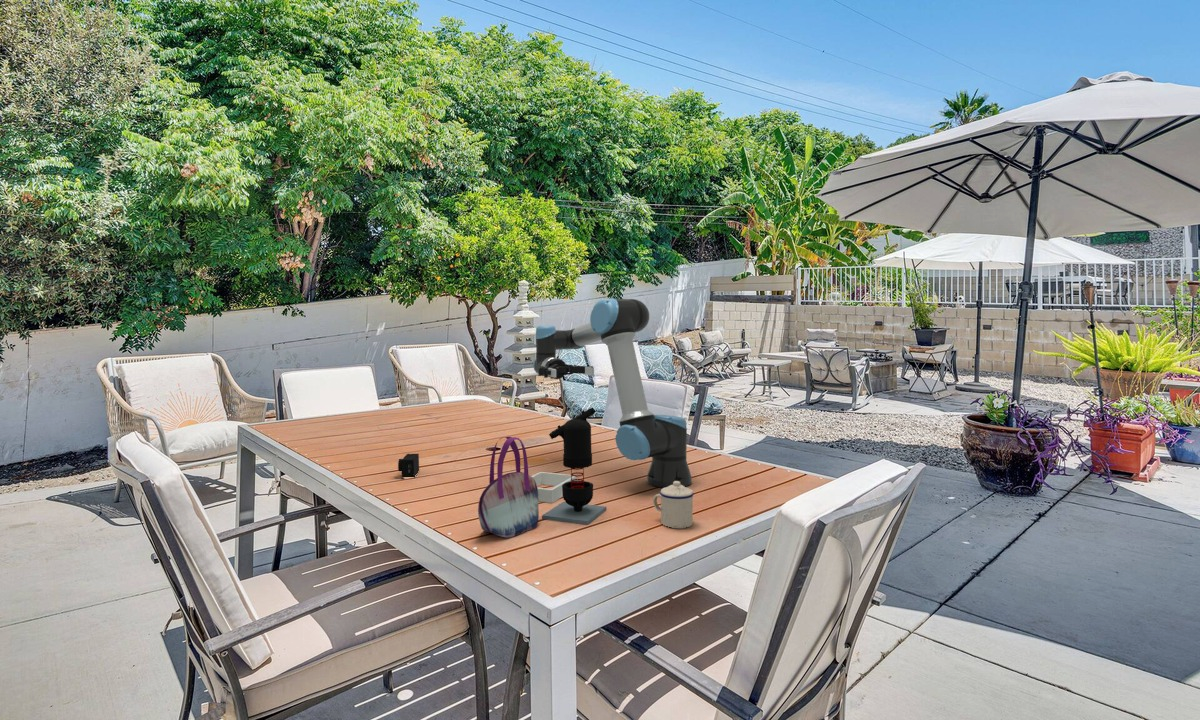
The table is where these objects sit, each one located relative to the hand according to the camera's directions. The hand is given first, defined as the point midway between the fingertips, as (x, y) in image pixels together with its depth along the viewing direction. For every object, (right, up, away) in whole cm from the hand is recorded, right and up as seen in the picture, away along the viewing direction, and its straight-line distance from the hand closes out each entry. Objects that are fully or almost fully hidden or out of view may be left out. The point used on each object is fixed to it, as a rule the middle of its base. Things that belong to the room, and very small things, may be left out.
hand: (574, 372), depth 209 cm
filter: (+1, -39, -31) cm, 50 cm away
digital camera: (-61, -38, +15) cm, 73 cm away
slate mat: (+1, -40, -31) cm, 51 cm away
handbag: (-15, -41, -43) cm, 62 cm away
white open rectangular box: (-9, -39, -8) cm, 41 cm away
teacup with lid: (+29, -41, -39) cm, 63 cm away
